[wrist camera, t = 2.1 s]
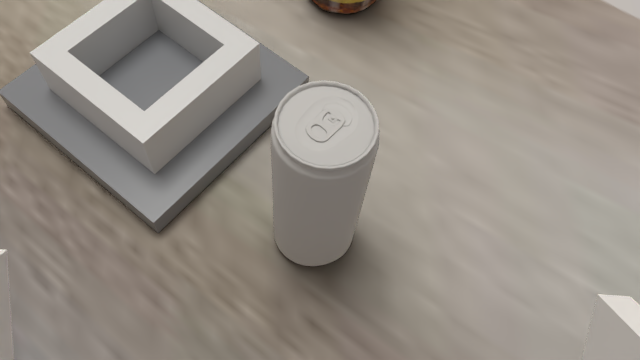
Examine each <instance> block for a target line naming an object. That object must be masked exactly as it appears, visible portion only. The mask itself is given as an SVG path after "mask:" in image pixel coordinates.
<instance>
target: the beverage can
mask: <svg viewBox="0 0 640 360" xmlns="http://www.w3.org/2000/svg"><path fill="white" fill-rule="evenodd" d="M378 146H379V120H378V117H377V113H376V110H375V109H374V107H373V106H372V104H371V102H370V101H369V100H368V99H367V98H366V97H365V96H364V95H363V94H362V93H361V92H360V91H358V90H356V89H354V88H353V87H351V86H349V85H346V84H343V83H340V82H336V81H325V80H322V81H314V82H309V83H306V84H303V85H300V86H298V87H296V88H295V89H293V90H292V91H290V92H289V93H287V95H286V96H285V97H284V98H283V99H282V100H281V101H280V103H279V105H278V107H277V109H276V112H275V116H274V119H273V121H272V128H271V164H272V187H273V225H274V238H275V242H276V244H277V246H278V248H279V250H280V251H281V252H282V253H283V254H284V255H285V256H286V257H287V258H288V259H290V260H291V261H293V262H295V263H298V264H301V265H304V266H319V265H325V264H328V263H330V262H333V261H335V260H337V259H338V258H340V257H341V256H342V255H344V254H345V252H346V251H347V250H348V248H349V247H350V245H351V242H352V239H353V236H354V232H355V229H356V225H357V221H358V218H359V214H360V211H361V207H362V204H363V200H364V196H365V193H366V189H367V186H368V182H369V179H370V175H371V171H372V168H373V164H374V161H375V157H376V154H377V150H378Z"/></svg>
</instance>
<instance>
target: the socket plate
mask: <svg viewBox="0 0 640 360" xmlns="http://www.w3.org/2000/svg"><path fill="white" fill-rule="evenodd" d="M30 54H31V56H32V58H33V60H34V61H35V63H36V64H35V65H33V66H32V67H31V68H29V69H28V70H27V71H25V72H24V73H22V74H21V75H20V76H18V77H17V78H15V79H14V80H13V81H11V82H10V83H9V84H7V85H6V86H4V87H3V88H2V89H0V95H1V97H2V98H3V100H4V101H5V103H6V104H7V105H8V106H9V107H10V108H11V109H12V110H14V111H15V112H16V113H17V114H18V115H20V116H21V117H22V118H23V119H24V120H25V121H27V122H28V123H29V124H30V125H31V126H32V127H34V128H35V129H36V130H37V131H38V132H40V133H41V134H42V135H43V136H44V137H45V138H47V139H48V140H49V141H50V142H51V143H53V144H54V145H55V146H56V147H57V148H58V149H60V150H61V151H62V152H63V153H64V154H65V155H67V156H68V157H69V158H70V159H71V160H73V161H74V162H75V163H76V164H77V165H78V166H80V167H81V168H82V169H83V170H84V171H86V172H87V173H88V174H89V175H90V176H91V177H93V178H94V179H95V180H96V181H97V182H98V183H100V184H101V185H102V186H103V187H104V188H106V189H107V190H108V191H109V192H110V193H111V194H113V195H114V196H115V197H116V198H117V199H119V200H120V201H121V202H122V203H123V204H124V205H126V206H127V207H128V208H129V209H130V210H132V211H133V212H134V213H135V214H136V215H137V216H139V217H140V218H141V219H142V220H143V221H144V222H146V223H147V224H148V225H149V226H150V227H152V228H153V229H154V230H155V231H156V232H157V233H159V232H160V231H161V230H162V229H163V228H164V227H165V226H166V225H167V224H168V223H169V222H170V221H171V220H172V219H174V218H175V217H176V216H177V215H178V214H179V213H180V212H181V211H182V210H183V209H184V208H185V207H186V206H187V205H188V204H189V203H190V202H191V201H192V200H193V199H194V198H196V197H197V196H198V195H199V194H200V193H201V192H202V191H203V190H204V189H205V188H206V187H207V186H208V185H209V184H210V183H211V182H212V181H213V180H214V179H215V178H216V177H218V176H219V175H220V174H221V173H222V172H223V171H224V170H225V169H226V168H227V167H228V166H229V165H230V164H231V163H232V162H233V161H234V160H235V159H236V158H237V157H238V156H239V155H241V154H242V153H243V152H244V151H245V150H246V149H247V148H248V147H249V146H250V145H251V144H252V143H253V142H254V141H255V140H256V139H257V138H258V137H259V136H260V135H261V134H263V133H264V132H265V131H266V130H267V129H268V128H269V127H270V126H271V125H272V121H273V119H274V116H275V112H276V109H277V107H278V105H279V103H280V101H281V100H282V99H283V98H284V97H285V96H286V95H287V93H289V92H290V91H292V90H293V89H295V88H296V87H298V86H300V85H303V84H306V83H308V81H309V76H307V75H306V74H304V73H303V72H301V71H300V70H299V69H297V68H296V67H294V66H293V65H291V64H290V63H288V62H287V61H285V60H284V59H283V58H281V57H280V56H278V55H277V54H275V53H274V52H272V51H271V50H270V49H268V48H267V47H265V46H264V45H262V44H261V43H259V42H258V41H256V40H255V39H254V38H252V37H251V36H249V35H248V34H246V33H245V32H243V31H242V30H241V29H239V28H238V27H236V26H235V25H233V24H232V23H230V22H229V21H227V20H226V19H225V18H223V17H222V16H220V15H219V14H217V13H216V12H214V11H213V10H212V9H210V8H209V7H207V6H206V5H204V4H203V3H201V2H200V1H198V0H103V1H102V2H101V3H99V4H98V5H96V6H95V7H94V8H92V9H91V10H89V11H88V12H86V13H85V14H84V15H82V16H81V17H79V18H78V19H77V20H75V21H74V22H72V23H71V24H70V25H68V26H67V27H65V28H64V29H62V30H61V31H60V32H58V33H57V34H55V35H54V36H53V37H51V38H50V39H48V40H47V41H46V42H44V43H43V44H41V45H40V46H38V47H37V48H36V49H34V50H33V51H31V52H30Z"/></svg>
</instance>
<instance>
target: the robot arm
mask: <svg viewBox="0 0 640 360" xmlns="http://www.w3.org/2000/svg"><path fill="white" fill-rule="evenodd" d="M0 360H14V353H13V337H12V322H11V306H10V290H9V274H8V258H7V250H2V249H0ZM581 360H640V305H639V304H638V303H637V302H636V301H635V300H634V299H632V298H631V297H629V296H616V295H603V294H597V297H596V302H595V306H594V310H593V314H592V318H591V322H590V326H589V330H588V334H587V338H586V343H585V347H584V351H583V355H582V359H581Z"/></svg>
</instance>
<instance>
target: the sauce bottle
mask: <svg viewBox="0 0 640 360" xmlns="http://www.w3.org/2000/svg"><path fill="white" fill-rule="evenodd" d="M312 1H314V3H316V4H317V5H318V6H319V7H320V8H322V9H323V10H325V11H329V12H337V13H343V14H349V13H356V12H359V11H362V10H364V9H366V8H367V7H370V5H372V4H373V3H374V2H375V1H376V0H312Z"/></svg>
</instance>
